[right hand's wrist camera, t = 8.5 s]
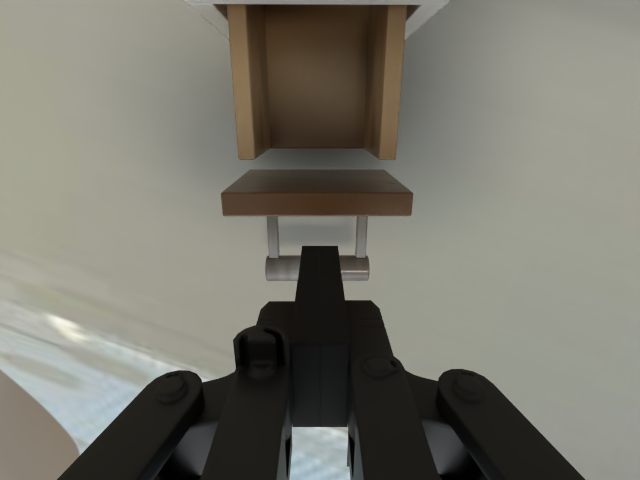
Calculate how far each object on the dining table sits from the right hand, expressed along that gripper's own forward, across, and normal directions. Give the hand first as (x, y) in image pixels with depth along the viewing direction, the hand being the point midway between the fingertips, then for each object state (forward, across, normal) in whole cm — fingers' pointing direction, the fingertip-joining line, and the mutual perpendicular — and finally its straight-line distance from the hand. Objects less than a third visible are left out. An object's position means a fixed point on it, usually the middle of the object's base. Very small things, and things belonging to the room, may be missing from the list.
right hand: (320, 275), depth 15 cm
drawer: (+11, 0, +7) cm, 13 cm away
